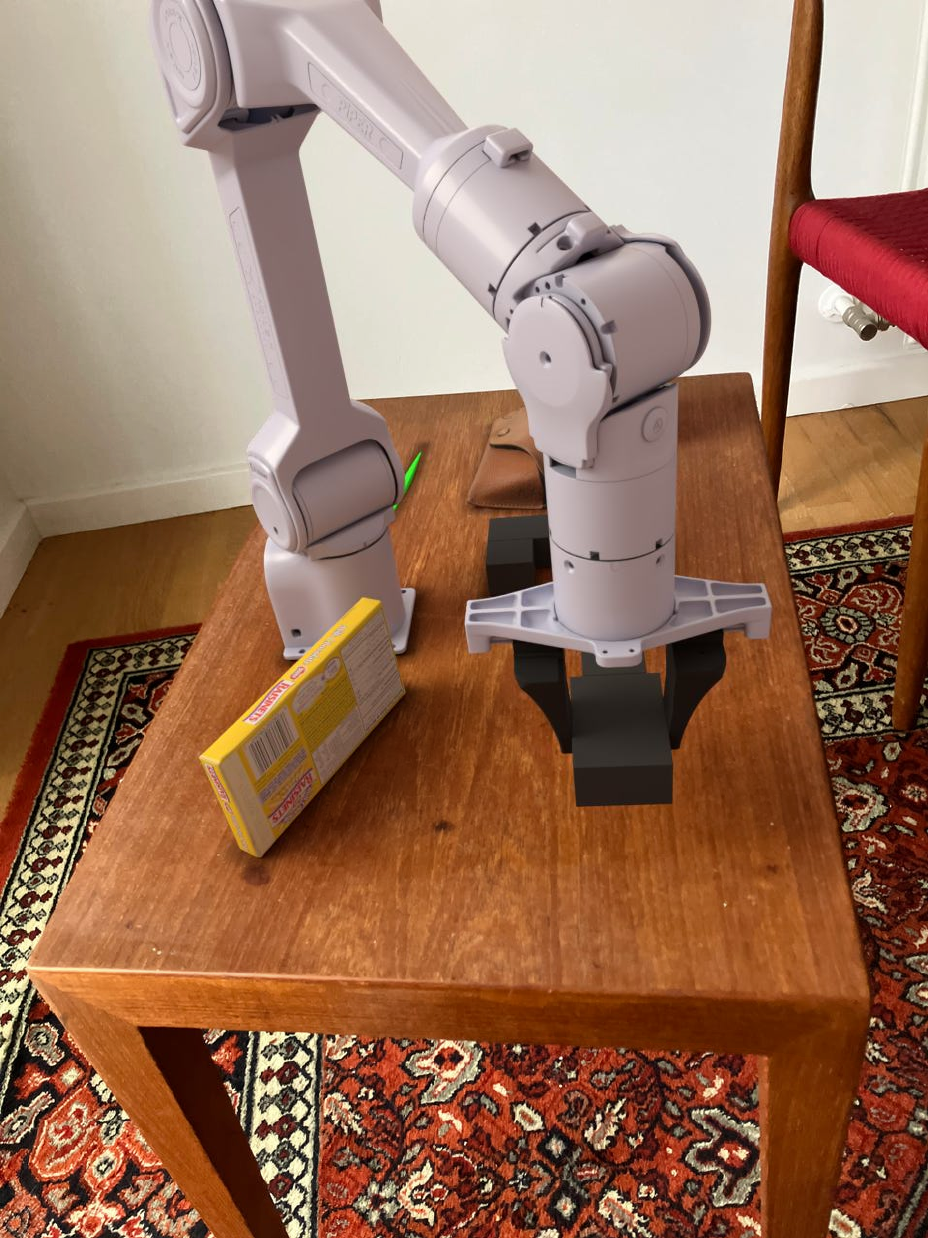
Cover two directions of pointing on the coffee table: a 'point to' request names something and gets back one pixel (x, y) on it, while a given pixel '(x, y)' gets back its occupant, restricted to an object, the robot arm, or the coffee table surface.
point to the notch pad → (516, 552)
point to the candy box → (305, 727)
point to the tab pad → (619, 736)
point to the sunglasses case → (510, 467)
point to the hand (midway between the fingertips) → (618, 738)
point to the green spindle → (410, 475)
